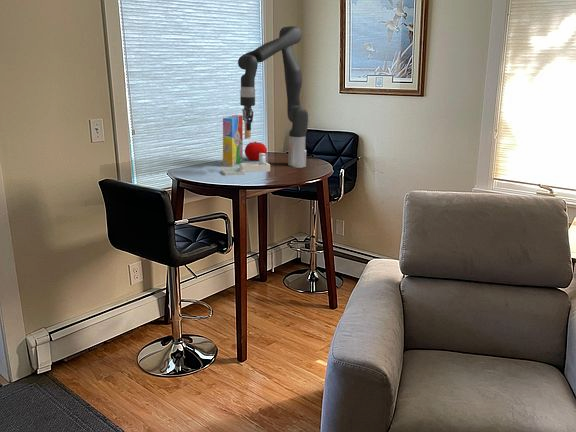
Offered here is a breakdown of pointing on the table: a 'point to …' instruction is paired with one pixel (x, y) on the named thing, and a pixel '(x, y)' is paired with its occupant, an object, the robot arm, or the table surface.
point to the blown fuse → (247, 133)
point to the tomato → (255, 150)
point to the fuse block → (255, 167)
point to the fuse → (261, 158)
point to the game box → (232, 140)
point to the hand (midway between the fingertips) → (247, 129)
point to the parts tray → (225, 172)
